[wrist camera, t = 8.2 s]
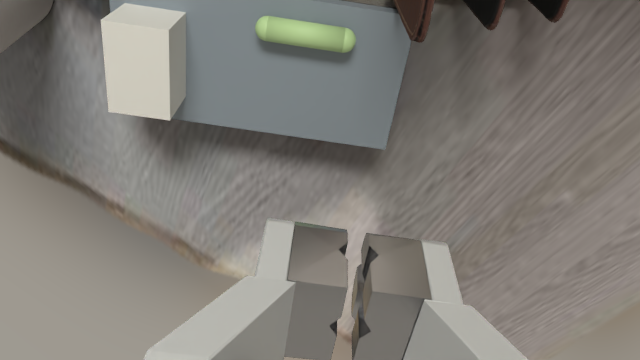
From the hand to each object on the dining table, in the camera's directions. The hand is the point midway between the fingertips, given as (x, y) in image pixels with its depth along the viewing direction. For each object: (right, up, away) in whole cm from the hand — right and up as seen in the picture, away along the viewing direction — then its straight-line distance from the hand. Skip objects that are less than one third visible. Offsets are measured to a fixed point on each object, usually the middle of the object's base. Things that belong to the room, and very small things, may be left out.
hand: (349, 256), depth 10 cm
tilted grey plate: (-5, +10, +27) cm, 29 cm away
